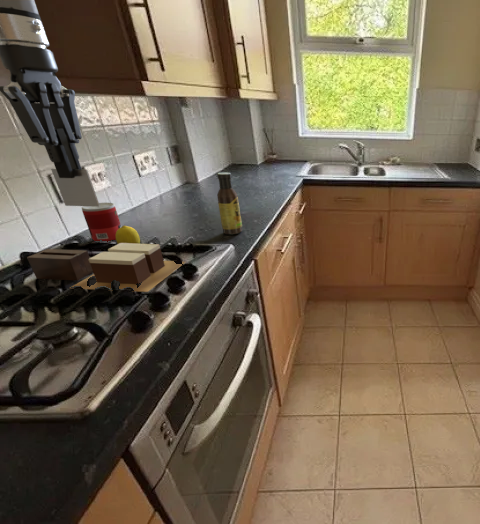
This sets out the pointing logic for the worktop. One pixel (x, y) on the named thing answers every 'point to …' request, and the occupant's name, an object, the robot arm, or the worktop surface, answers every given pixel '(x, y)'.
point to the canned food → (102, 221)
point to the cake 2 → (150, 251)
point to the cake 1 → (120, 267)
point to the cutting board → (145, 285)
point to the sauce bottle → (228, 205)
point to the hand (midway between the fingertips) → (71, 176)
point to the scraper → (74, 180)
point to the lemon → (127, 235)
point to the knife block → (60, 264)
